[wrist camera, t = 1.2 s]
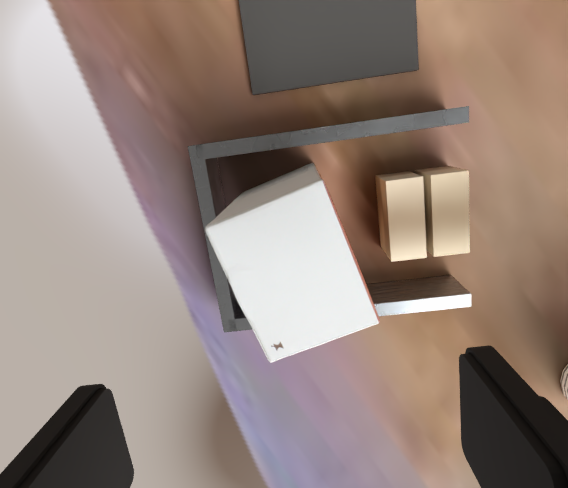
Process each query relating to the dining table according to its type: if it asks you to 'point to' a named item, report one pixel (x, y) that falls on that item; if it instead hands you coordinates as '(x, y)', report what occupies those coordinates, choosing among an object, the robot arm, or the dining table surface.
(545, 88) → the dining table surface
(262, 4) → the mat
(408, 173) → the offcut
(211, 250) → the grey tray
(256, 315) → the small box
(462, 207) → the offcut
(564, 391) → the cup
